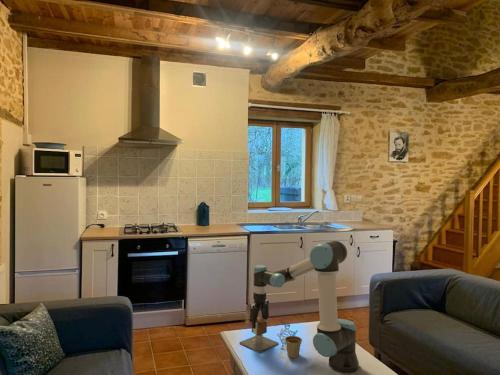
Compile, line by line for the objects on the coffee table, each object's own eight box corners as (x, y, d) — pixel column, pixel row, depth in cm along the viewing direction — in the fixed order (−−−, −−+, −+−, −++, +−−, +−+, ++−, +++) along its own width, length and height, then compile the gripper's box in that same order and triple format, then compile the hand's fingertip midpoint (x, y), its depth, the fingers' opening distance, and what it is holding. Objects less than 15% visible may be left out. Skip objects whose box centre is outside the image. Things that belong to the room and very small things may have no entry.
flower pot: (301, 360, 195) (301, 344, 195) (283, 358, 197) (283, 342, 197) (302, 352, 204) (302, 336, 204) (285, 350, 206) (285, 335, 206)
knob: (266, 332, 213) (266, 318, 213) (259, 335, 209) (259, 321, 209) (259, 329, 217) (259, 315, 217) (251, 332, 213) (251, 318, 213)
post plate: (278, 344, 213) (278, 335, 213) (259, 353, 202) (259, 343, 202) (258, 335, 224) (258, 327, 224) (239, 343, 213) (239, 334, 213)
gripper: (266, 287, 222) (265, 325, 222) (243, 294, 209) (242, 334, 209) (275, 290, 217) (275, 329, 217) (252, 297, 203) (252, 338, 204)
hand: (259, 331), depth 213 cm, fingers closed on knob, 6 cm apart
